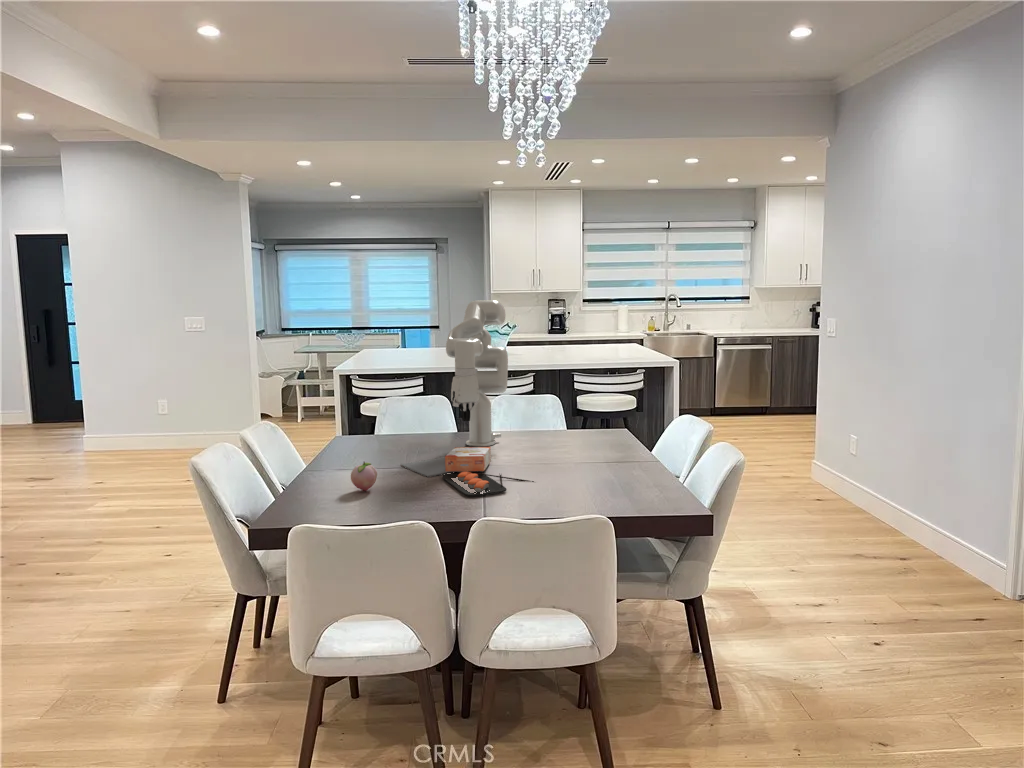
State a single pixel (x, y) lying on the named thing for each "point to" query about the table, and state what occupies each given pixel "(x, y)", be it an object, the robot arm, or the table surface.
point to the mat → (428, 467)
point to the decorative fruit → (364, 476)
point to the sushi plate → (477, 482)
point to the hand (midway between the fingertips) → (466, 420)
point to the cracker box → (468, 459)
